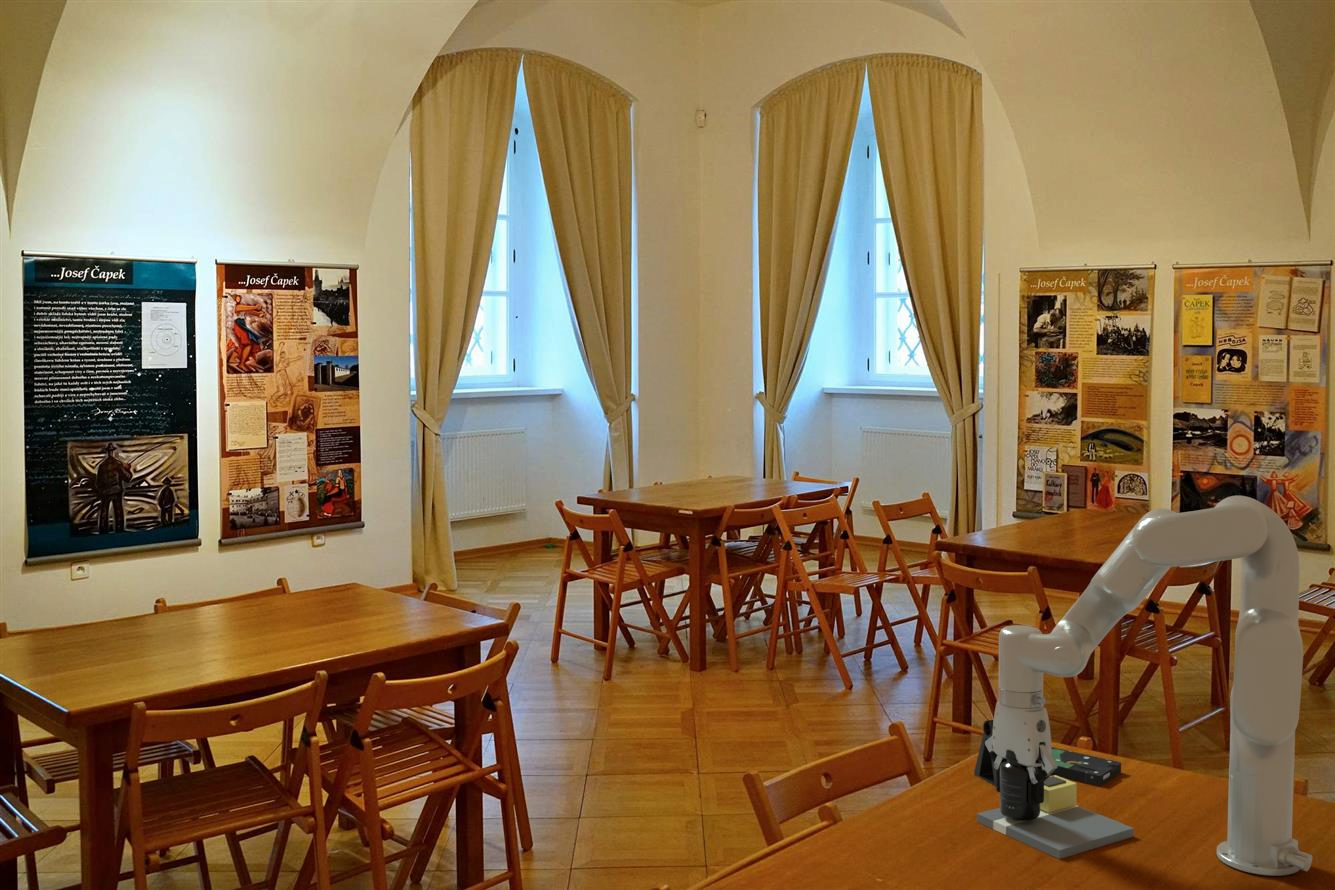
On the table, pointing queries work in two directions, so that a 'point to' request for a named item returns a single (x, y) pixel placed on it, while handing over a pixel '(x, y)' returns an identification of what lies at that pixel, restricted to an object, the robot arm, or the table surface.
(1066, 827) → the board
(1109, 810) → the table surface
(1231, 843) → the robot arm
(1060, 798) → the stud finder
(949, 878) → the table surface
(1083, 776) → the disk drive
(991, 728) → the phone stand
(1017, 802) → the supplement bottle
